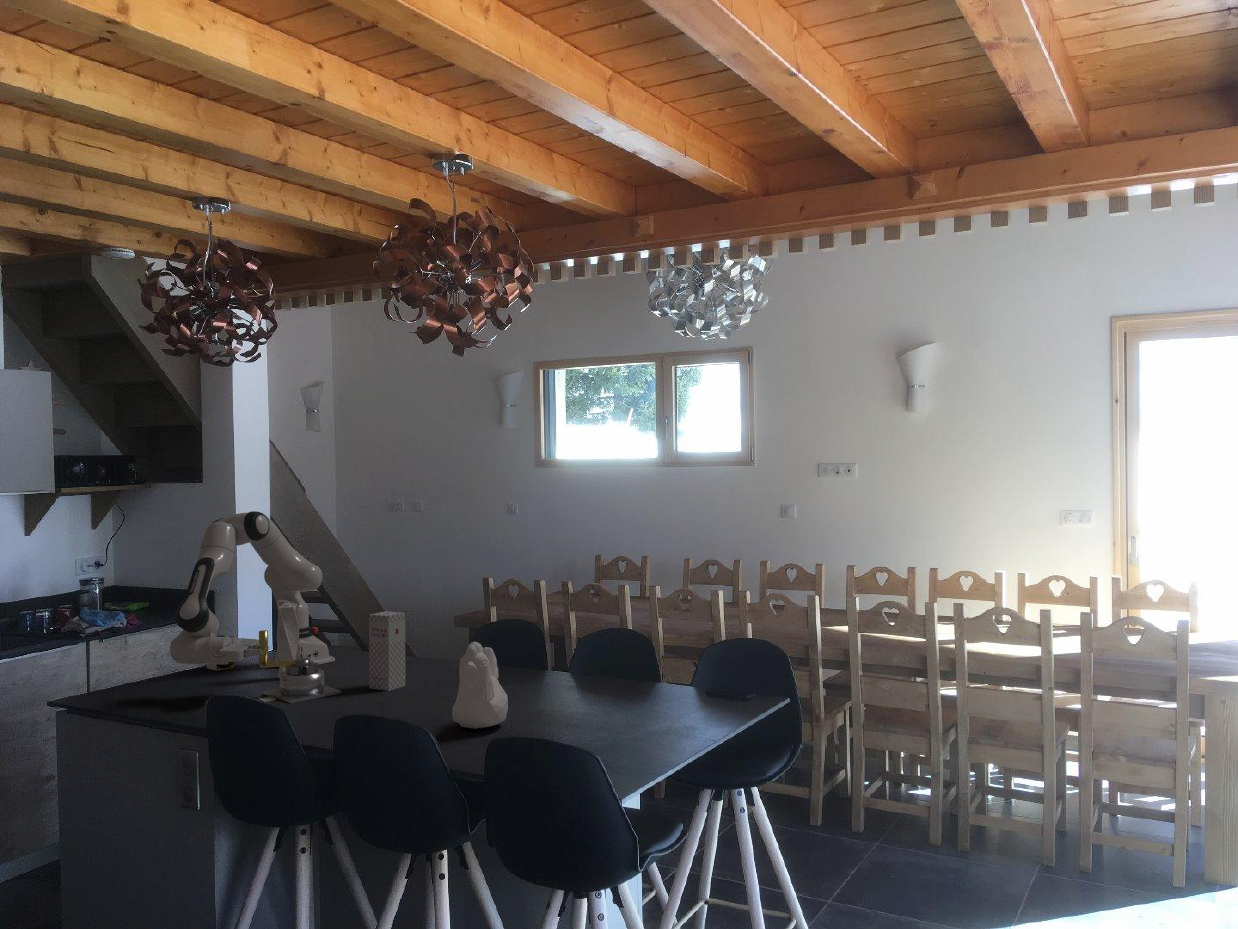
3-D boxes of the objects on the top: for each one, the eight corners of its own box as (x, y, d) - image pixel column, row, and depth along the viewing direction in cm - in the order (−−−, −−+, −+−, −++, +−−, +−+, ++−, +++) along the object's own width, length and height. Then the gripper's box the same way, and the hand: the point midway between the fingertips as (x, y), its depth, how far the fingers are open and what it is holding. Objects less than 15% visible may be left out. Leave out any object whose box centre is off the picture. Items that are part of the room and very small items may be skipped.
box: (405, 685, 336) (405, 612, 336) (388, 690, 328) (388, 616, 328) (386, 683, 340) (385, 611, 340) (369, 688, 332) (369, 614, 332)
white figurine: (489, 737, 272) (489, 647, 272) (440, 732, 277) (439, 644, 277) (529, 715, 295) (528, 633, 295) (482, 711, 301) (482, 630, 301)
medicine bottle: (216, 671, 361) (216, 638, 361) (206, 668, 366) (206, 636, 366) (234, 667, 367) (234, 635, 367) (223, 665, 371) (223, 633, 371)
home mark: (269, 698, 319) (269, 696, 319) (276, 700, 316) (276, 699, 316) (256, 700, 316) (256, 699, 316) (263, 702, 313) (263, 701, 313)
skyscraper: (285, 681, 343) (284, 601, 343) (271, 678, 348) (271, 599, 348) (305, 677, 350) (305, 599, 350) (292, 674, 355) (292, 597, 355)
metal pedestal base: (313, 685, 337) (313, 665, 337) (340, 693, 325) (340, 672, 325) (263, 694, 324) (263, 673, 324) (290, 703, 312) (290, 681, 312)
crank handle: (317, 667, 331) (317, 625, 331) (318, 673, 321) (318, 630, 321) (259, 671, 325) (259, 629, 325) (258, 678, 315) (258, 634, 315)
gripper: (210, 646, 309) (254, 646, 309) (233, 635, 329) (275, 635, 330) (209, 666, 309) (254, 666, 309) (233, 654, 329) (275, 654, 330)
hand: (265, 650), depth 320 cm, fingers open, 4 cm apart
